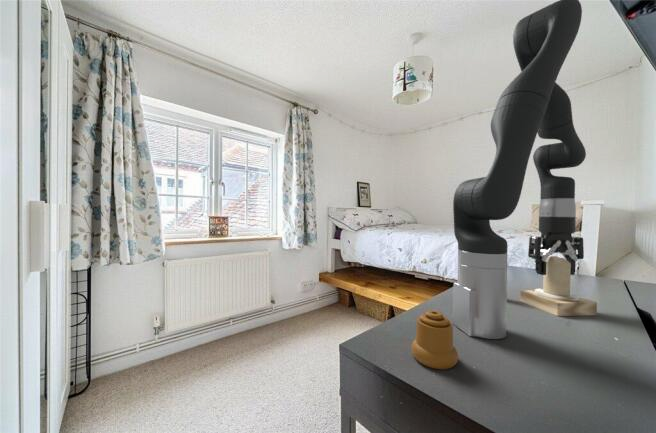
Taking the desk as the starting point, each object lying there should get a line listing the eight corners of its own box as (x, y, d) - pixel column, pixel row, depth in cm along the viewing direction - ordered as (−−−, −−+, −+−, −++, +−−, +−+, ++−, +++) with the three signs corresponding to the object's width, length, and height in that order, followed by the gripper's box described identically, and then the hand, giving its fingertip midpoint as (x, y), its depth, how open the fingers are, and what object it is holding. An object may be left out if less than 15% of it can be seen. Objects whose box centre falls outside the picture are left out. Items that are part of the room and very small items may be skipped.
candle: (575, 297, 66) (576, 259, 66) (551, 295, 67) (552, 257, 67) (560, 291, 72) (561, 255, 72) (538, 289, 73) (539, 254, 73)
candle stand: (557, 316, 64) (557, 300, 64) (520, 301, 75) (520, 287, 75) (596, 315, 65) (596, 299, 65) (554, 300, 76) (554, 287, 76)
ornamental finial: (403, 357, 44) (424, 343, 49) (446, 378, 39) (465, 360, 44) (403, 311, 44) (424, 302, 49) (446, 326, 39) (465, 313, 44)
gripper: (546, 215, 65) (544, 277, 65) (595, 216, 67) (594, 277, 67) (521, 215, 73) (519, 271, 73) (565, 216, 74) (564, 271, 74)
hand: (555, 274), depth 70 cm, fingers open, 8 cm apart
